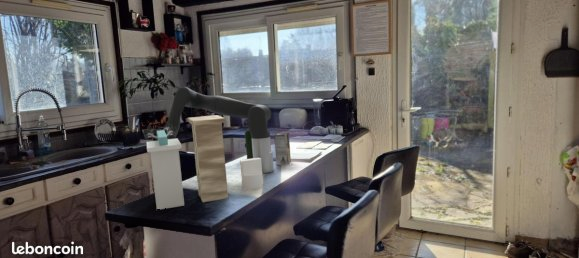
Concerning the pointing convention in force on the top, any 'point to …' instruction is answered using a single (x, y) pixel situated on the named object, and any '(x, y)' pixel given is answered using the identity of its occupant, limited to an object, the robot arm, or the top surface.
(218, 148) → the birch stand
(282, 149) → the coffee box
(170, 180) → the white pedestal
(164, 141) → the teal bar
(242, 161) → the cylinder with rectangular tab
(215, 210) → the top surface
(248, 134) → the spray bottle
